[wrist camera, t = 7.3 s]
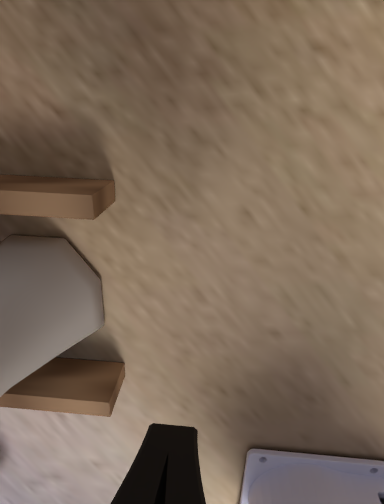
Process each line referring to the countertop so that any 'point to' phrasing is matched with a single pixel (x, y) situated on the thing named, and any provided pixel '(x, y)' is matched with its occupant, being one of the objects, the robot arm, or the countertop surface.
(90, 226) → the countertop surface
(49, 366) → the wooden frame
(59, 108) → the countertop surface
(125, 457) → the countertop surface
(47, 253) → the flask
